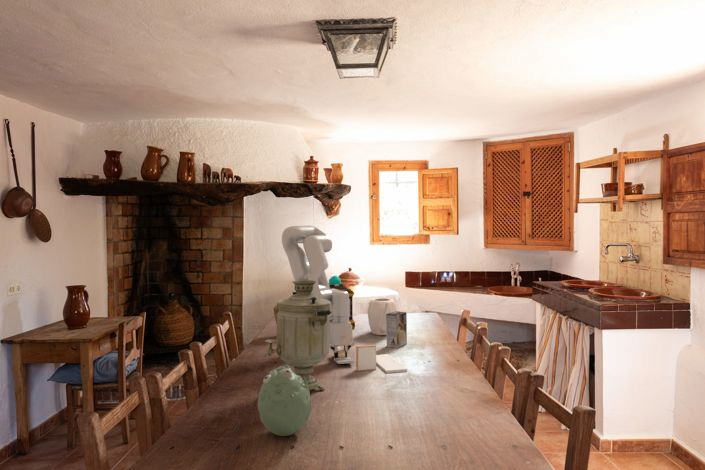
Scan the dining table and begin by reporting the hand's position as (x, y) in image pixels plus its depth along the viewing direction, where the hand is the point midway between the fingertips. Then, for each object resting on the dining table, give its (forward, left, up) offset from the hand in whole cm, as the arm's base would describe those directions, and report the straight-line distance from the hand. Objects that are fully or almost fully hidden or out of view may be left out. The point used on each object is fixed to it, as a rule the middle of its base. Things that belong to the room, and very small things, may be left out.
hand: (340, 360), depth 230 cm
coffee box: (+33, +19, 0) cm, 38 cm away
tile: (+7, -16, 0) cm, 17 cm away
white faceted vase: (+34, +44, 0) cm, 56 cm away
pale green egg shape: (-34, -71, 0) cm, 79 cm away
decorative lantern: (+13, +67, 0) cm, 68 cm away
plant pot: (-16, +54, 0) cm, 56 cm away
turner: (0, -1, +1) cm, 1 cm away
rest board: (+18, -11, 0) cm, 21 cm away
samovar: (-25, -34, 0) cm, 42 cm away
